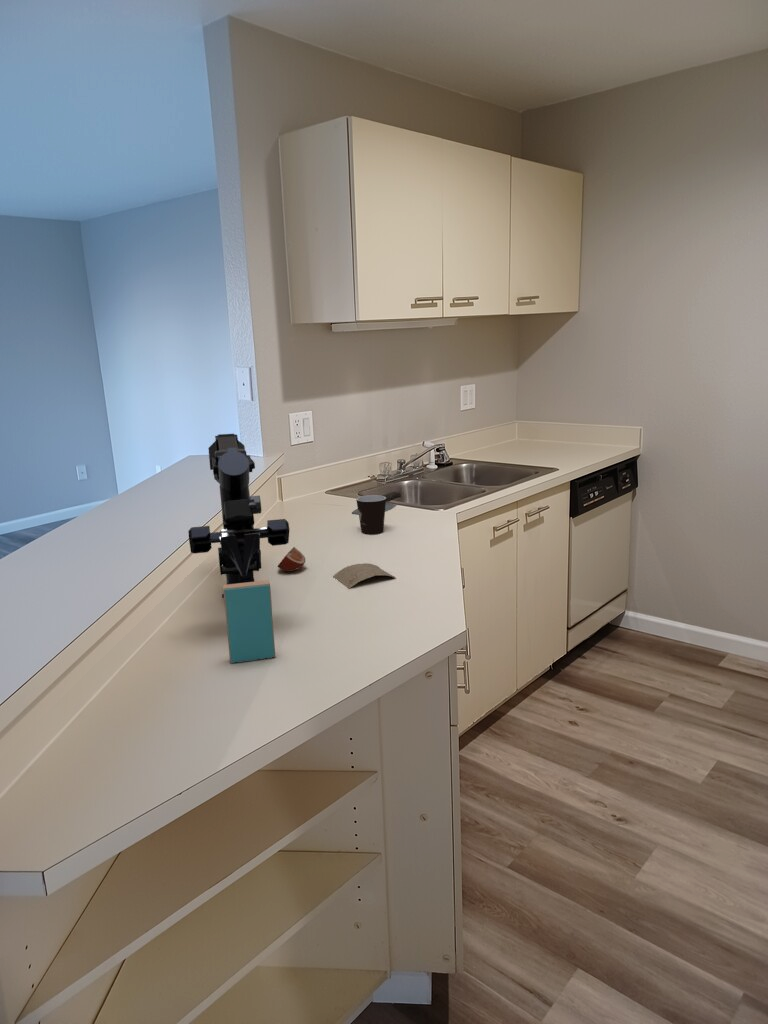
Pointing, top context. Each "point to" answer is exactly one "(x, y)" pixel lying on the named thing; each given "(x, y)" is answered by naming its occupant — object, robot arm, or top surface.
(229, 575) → the robot arm
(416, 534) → the top surface
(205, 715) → the top surface
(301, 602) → the top surface
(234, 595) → the tile
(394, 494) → the cleaver
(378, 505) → the coffee mug
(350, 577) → the clay tablet
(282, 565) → the fruit slice
